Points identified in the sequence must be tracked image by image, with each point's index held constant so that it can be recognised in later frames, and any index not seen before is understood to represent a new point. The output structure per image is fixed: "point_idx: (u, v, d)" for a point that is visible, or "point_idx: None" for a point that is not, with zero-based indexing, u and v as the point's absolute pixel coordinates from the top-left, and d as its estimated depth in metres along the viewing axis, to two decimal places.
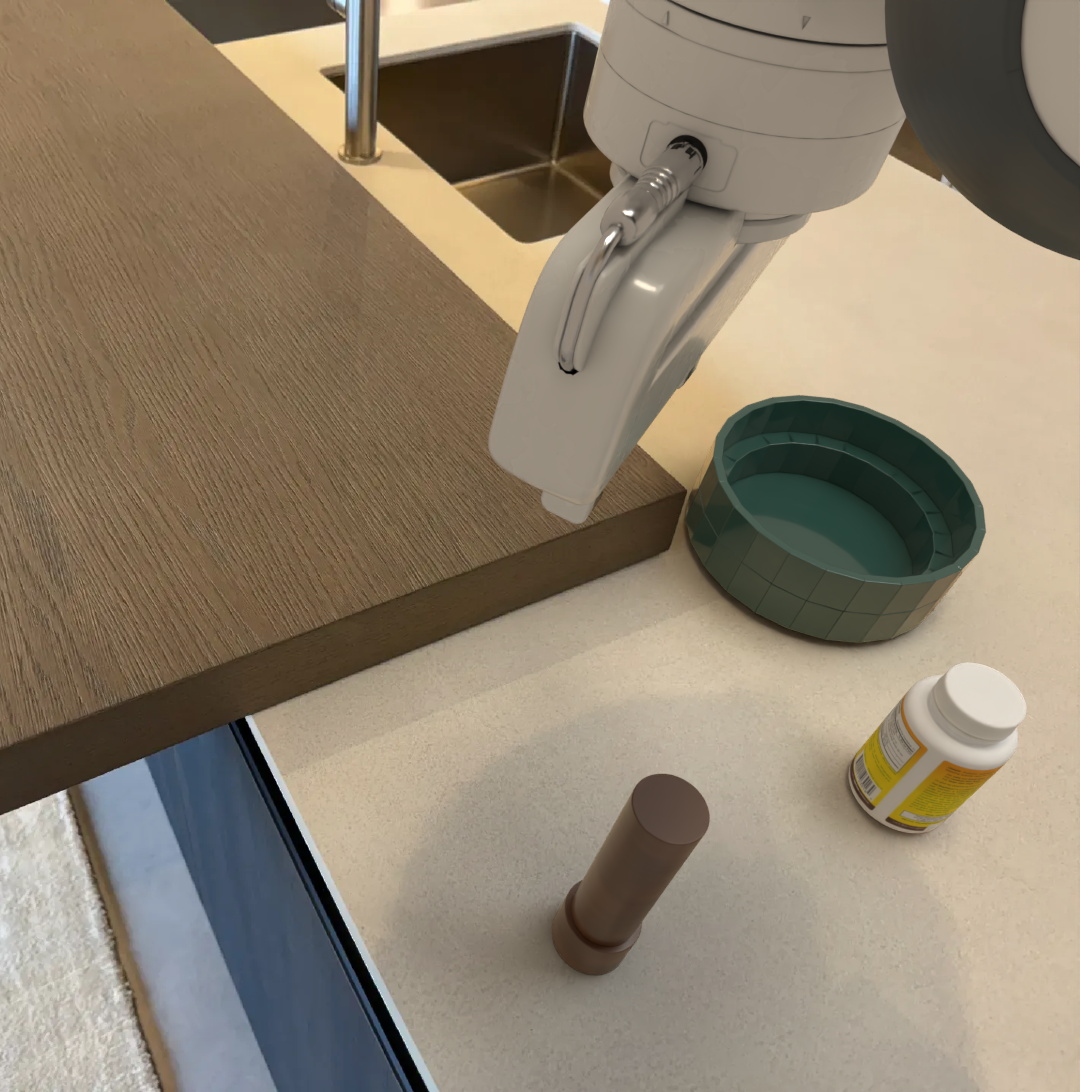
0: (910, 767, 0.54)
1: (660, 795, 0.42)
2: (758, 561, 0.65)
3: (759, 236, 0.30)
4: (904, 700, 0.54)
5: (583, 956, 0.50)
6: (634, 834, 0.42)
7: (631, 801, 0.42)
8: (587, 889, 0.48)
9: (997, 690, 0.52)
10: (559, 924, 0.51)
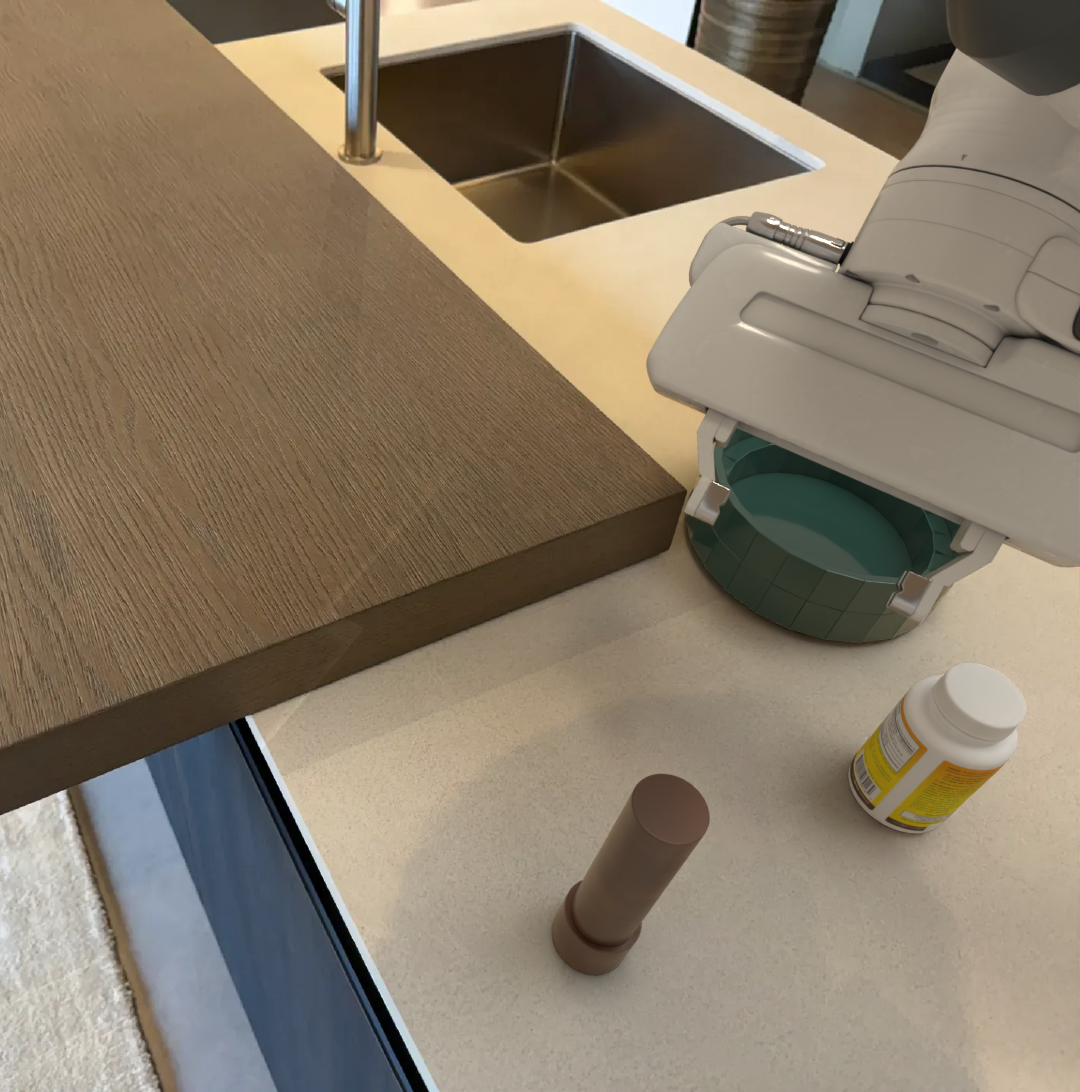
0: (910, 767, 0.54)
1: (660, 795, 0.42)
2: (758, 561, 0.65)
3: (875, 313, 0.43)
4: (904, 700, 0.54)
5: (583, 956, 0.50)
6: (634, 834, 0.42)
7: (631, 801, 0.42)
8: (587, 889, 0.48)
9: (997, 690, 0.52)
10: (559, 924, 0.51)
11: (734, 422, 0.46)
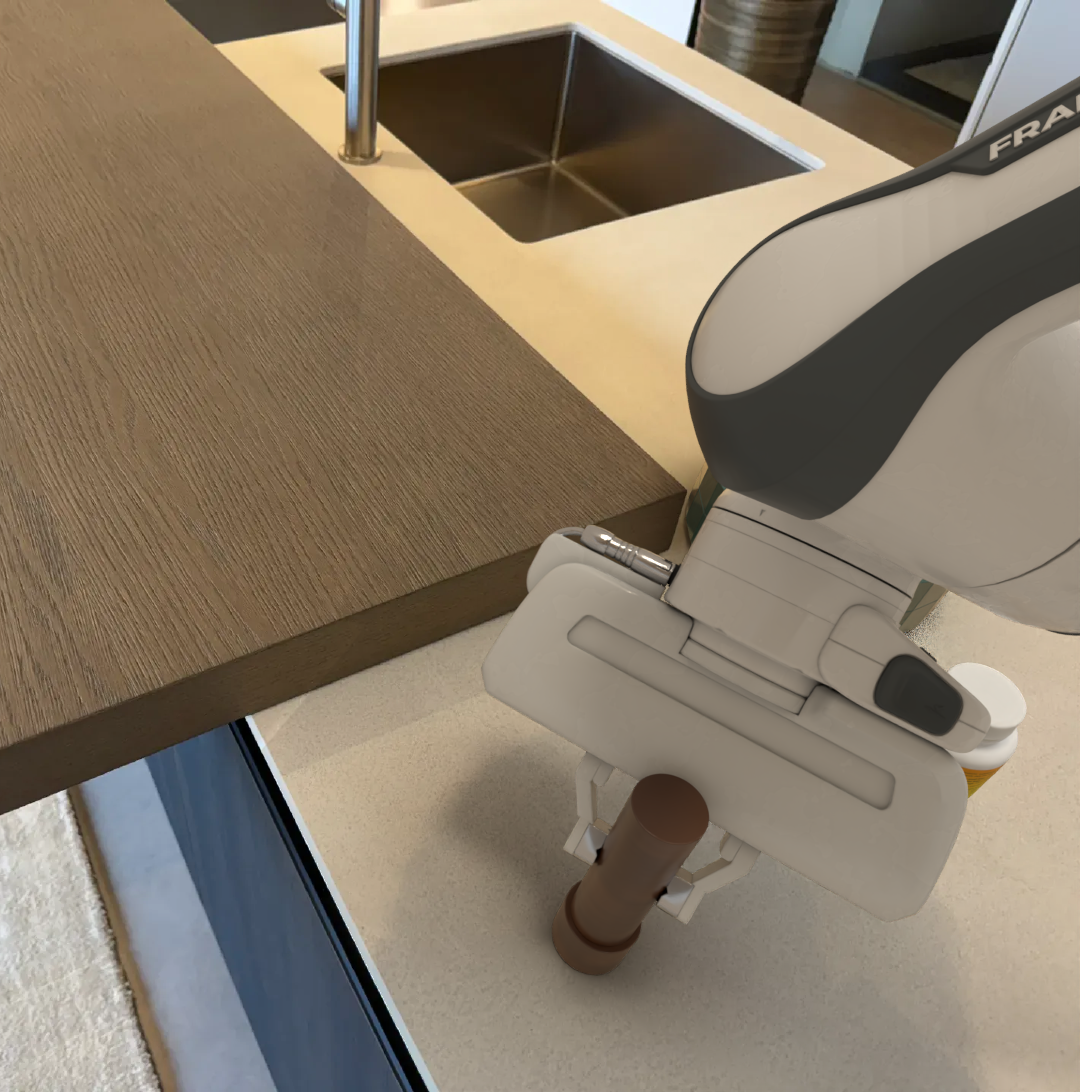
0: None
1: (659, 795, 0.42)
2: None
3: (692, 652, 0.44)
4: None
5: (582, 956, 0.50)
6: (634, 834, 0.42)
7: (630, 801, 0.42)
8: (586, 889, 0.48)
9: (997, 690, 0.52)
10: (559, 924, 0.51)
11: (611, 767, 0.46)
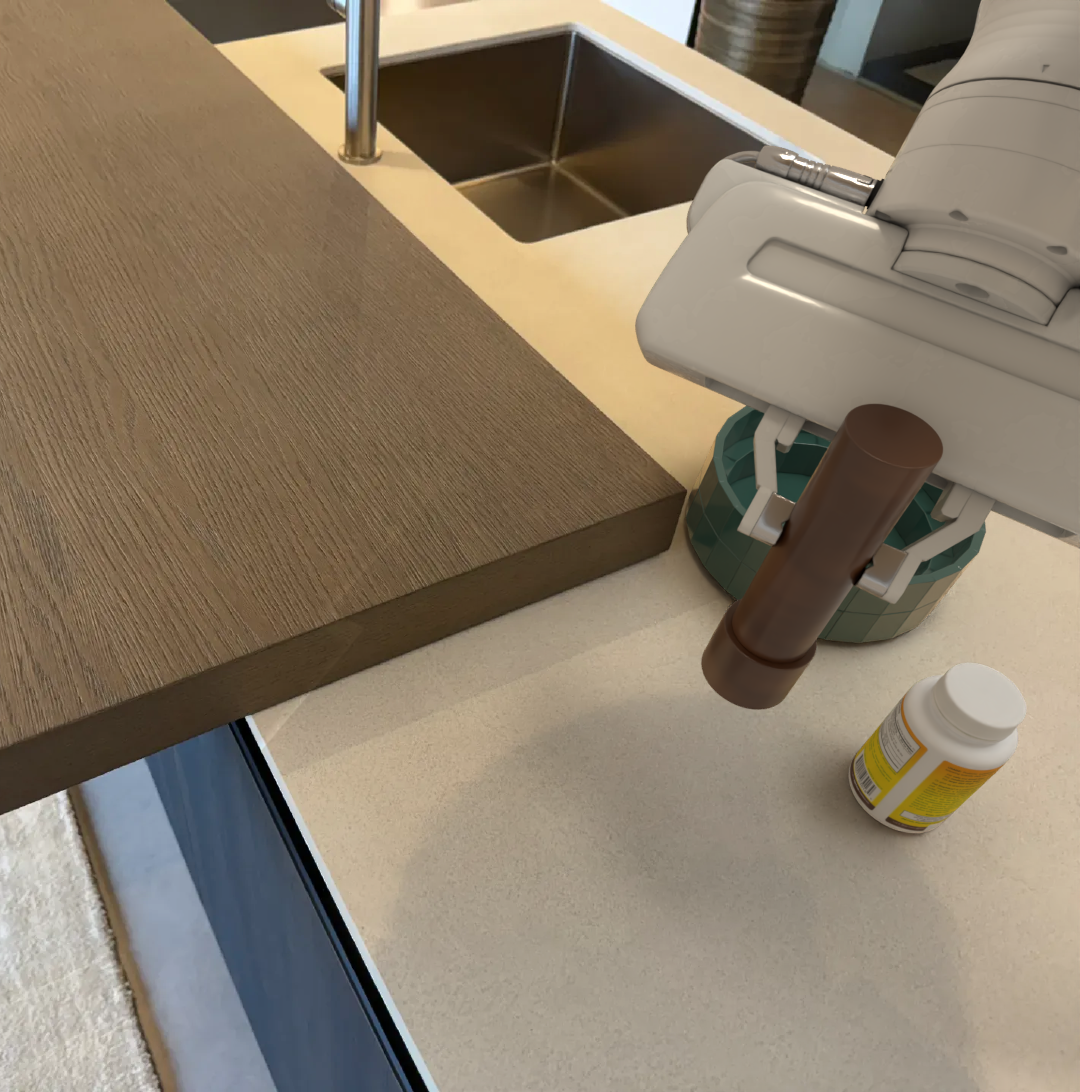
0: (910, 767, 0.54)
1: (879, 422, 0.35)
2: (758, 561, 0.65)
3: (911, 261, 0.36)
4: (904, 700, 0.54)
5: (747, 680, 0.42)
6: (849, 467, 0.34)
7: (844, 428, 0.34)
8: (761, 584, 0.40)
9: (997, 690, 0.52)
10: (715, 649, 0.43)
11: (800, 421, 0.38)
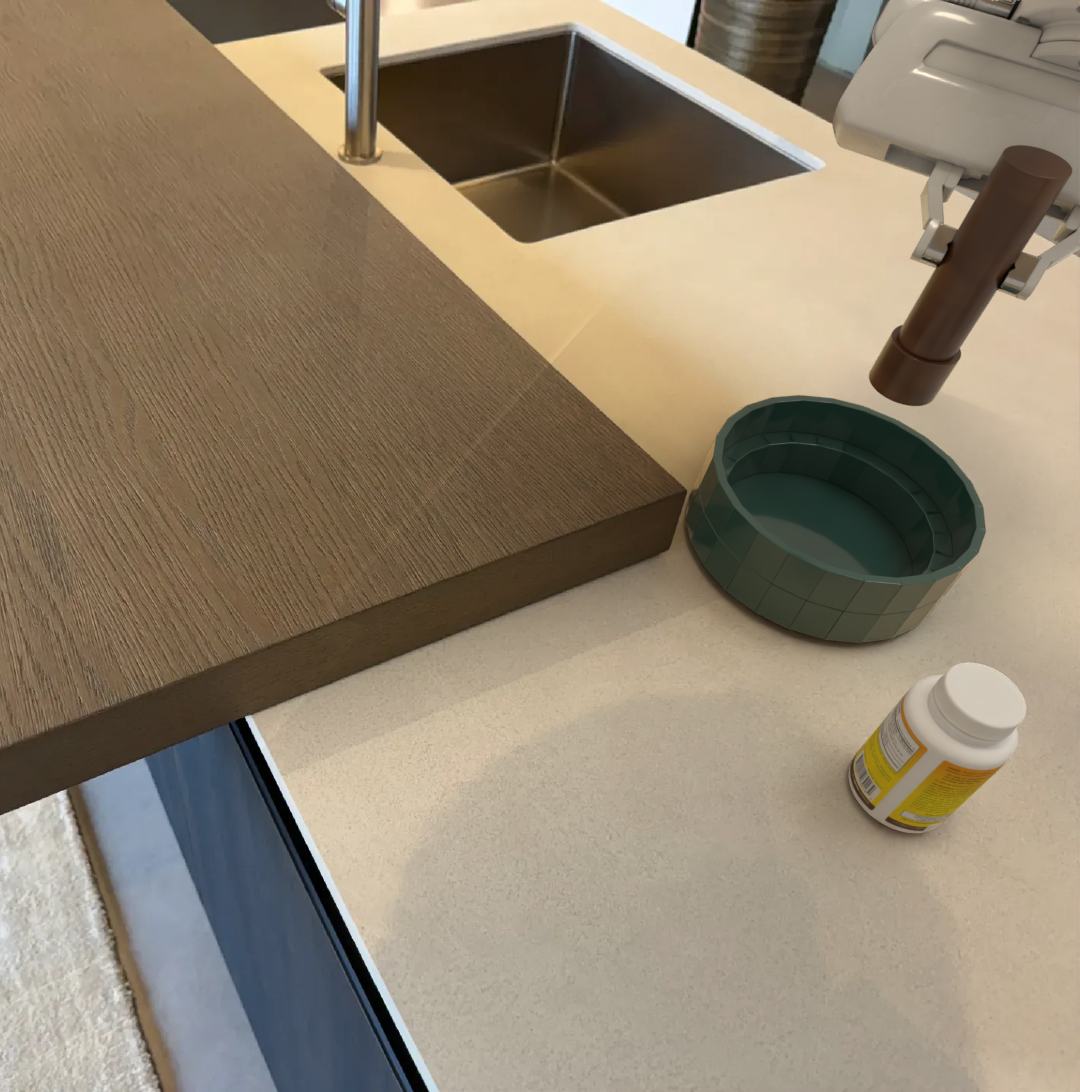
0: (910, 767, 0.54)
1: (1026, 155, 0.50)
2: (758, 561, 0.65)
3: (1046, 48, 0.51)
4: (904, 700, 0.54)
5: (910, 378, 0.58)
6: (1006, 184, 0.50)
7: (1003, 157, 0.50)
8: (927, 296, 0.56)
9: (997, 690, 0.52)
10: (883, 360, 0.59)
11: (961, 170, 0.54)
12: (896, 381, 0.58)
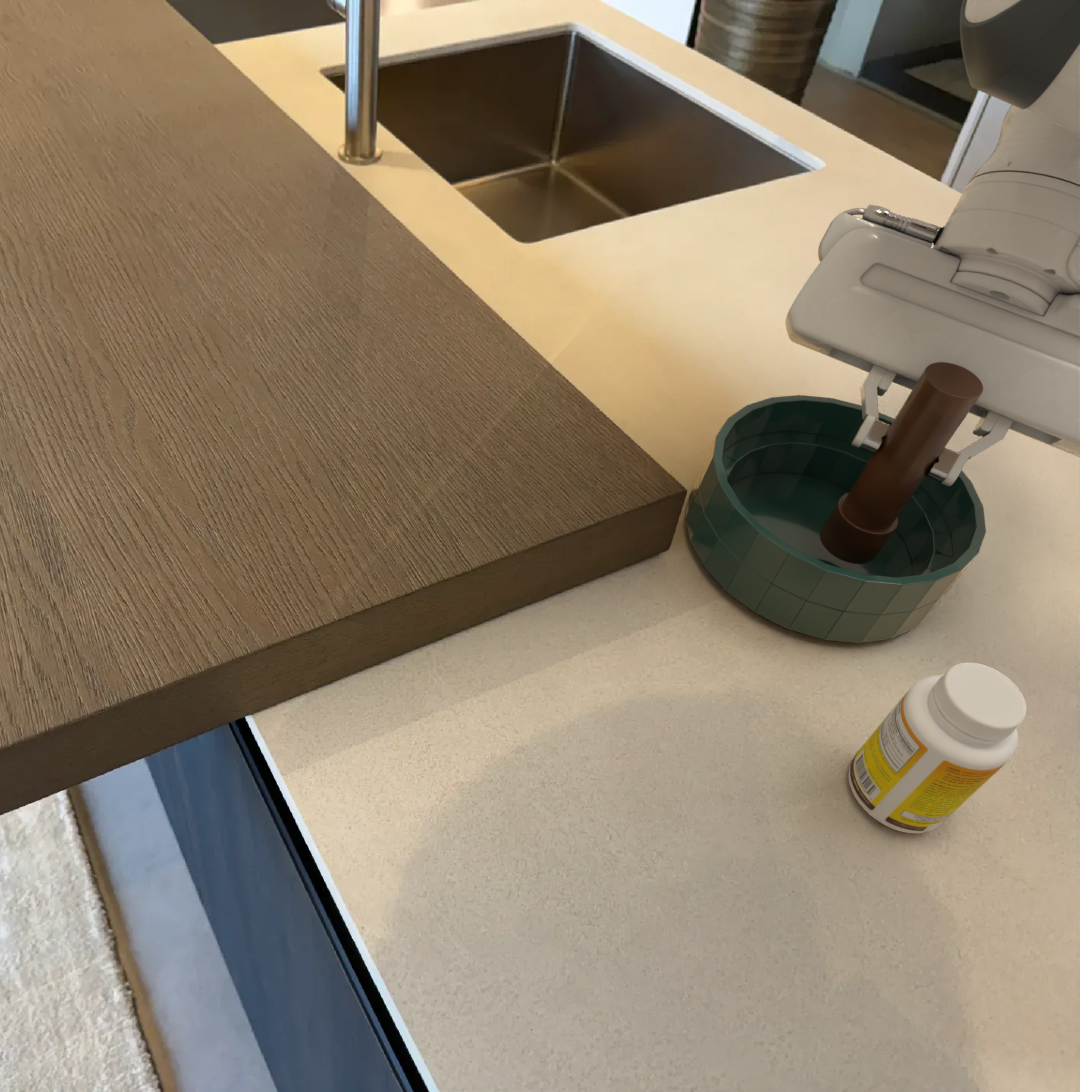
0: (910, 767, 0.54)
1: (944, 373, 0.59)
2: (758, 561, 0.65)
3: (963, 277, 0.60)
4: (904, 700, 0.54)
5: (853, 542, 0.66)
6: (927, 399, 0.59)
7: (925, 375, 0.59)
8: (866, 477, 0.64)
9: (997, 690, 0.52)
10: (831, 525, 0.68)
11: (893, 375, 0.62)
12: (842, 543, 0.67)
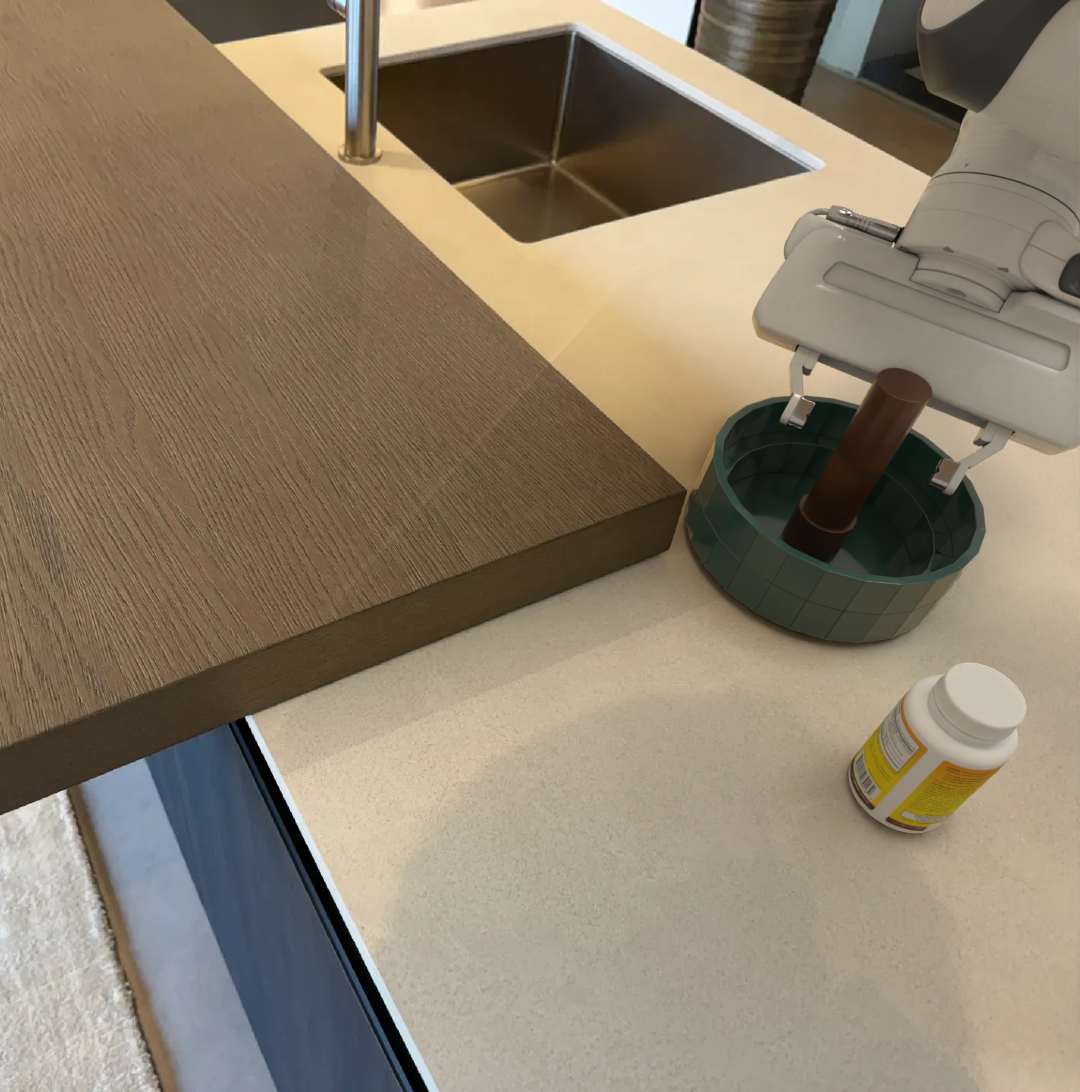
0: (910, 767, 0.54)
1: (896, 378, 0.61)
2: (758, 561, 0.65)
3: (921, 275, 0.62)
4: (904, 700, 0.54)
5: (813, 541, 0.69)
6: (879, 403, 0.61)
7: (877, 381, 0.61)
8: (824, 478, 0.67)
9: (997, 690, 0.52)
10: (793, 524, 0.70)
11: (817, 354, 0.65)
12: (803, 542, 0.70)
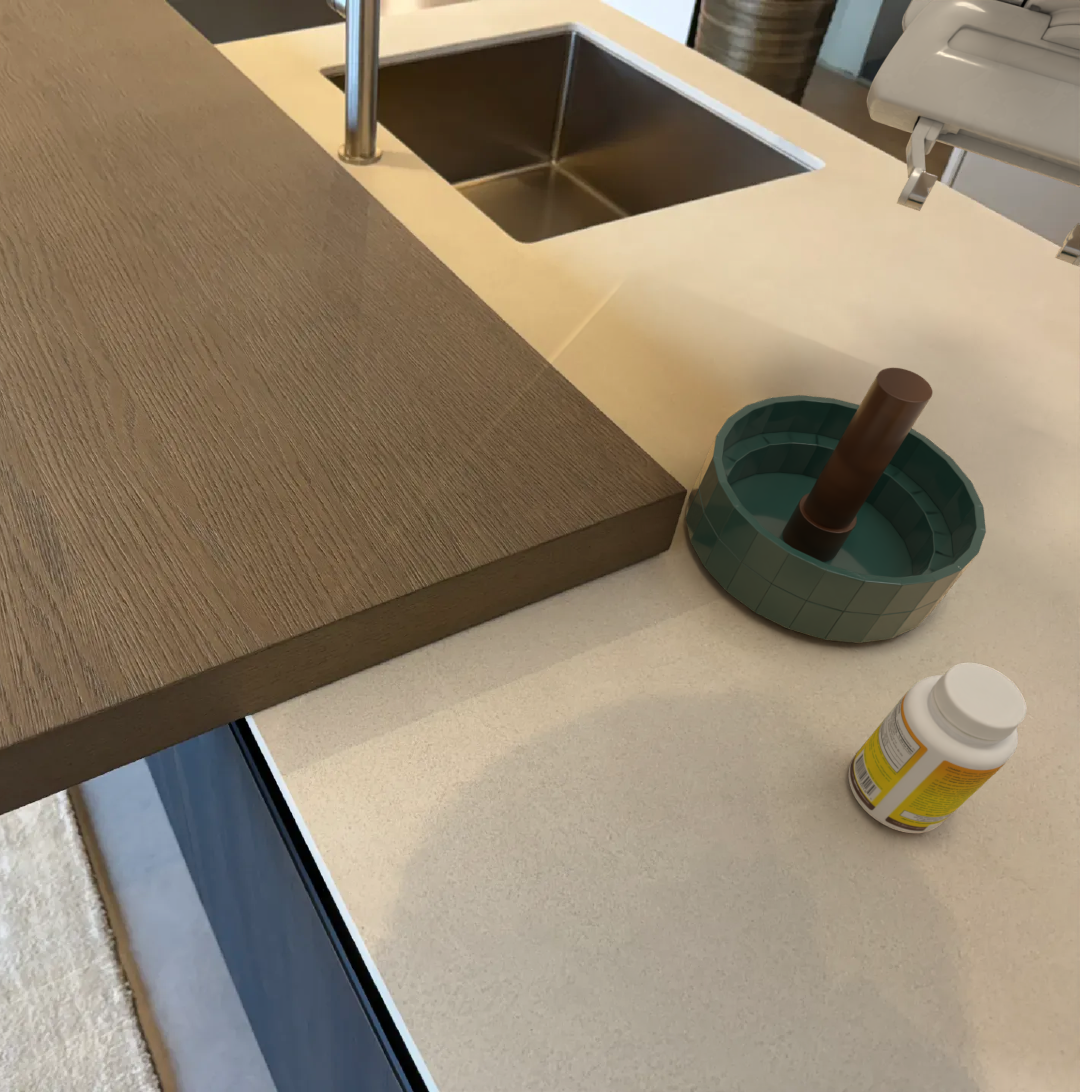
0: (910, 767, 0.54)
1: (896, 378, 0.61)
2: (758, 561, 0.65)
3: (1055, 31, 0.59)
4: (904, 700, 0.54)
5: (813, 541, 0.69)
6: (879, 403, 0.61)
7: (877, 381, 0.61)
8: (824, 478, 0.67)
9: (997, 690, 0.52)
10: (793, 524, 0.70)
11: (940, 125, 0.62)
12: (803, 542, 0.70)
